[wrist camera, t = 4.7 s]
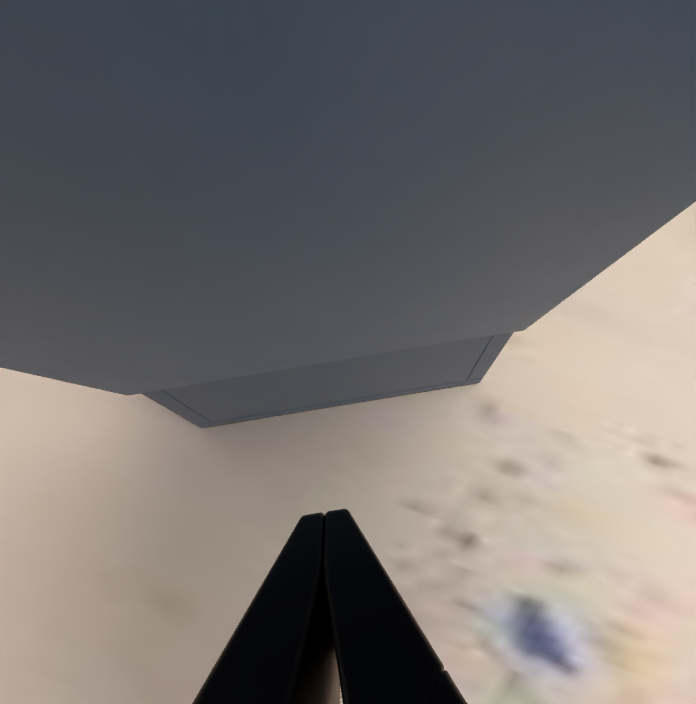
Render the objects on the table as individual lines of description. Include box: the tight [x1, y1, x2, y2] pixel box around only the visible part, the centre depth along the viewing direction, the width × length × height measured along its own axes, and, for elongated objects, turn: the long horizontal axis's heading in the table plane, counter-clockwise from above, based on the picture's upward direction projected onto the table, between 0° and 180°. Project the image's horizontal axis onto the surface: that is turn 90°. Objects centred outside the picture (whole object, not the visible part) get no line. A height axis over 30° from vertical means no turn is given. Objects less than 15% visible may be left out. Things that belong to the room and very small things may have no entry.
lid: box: [0, 0, 696, 395], centre depth 8 cm, size 14×14×1 cm
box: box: [141, 332, 513, 428], centre depth 20 cm, size 13×14×6 cm
